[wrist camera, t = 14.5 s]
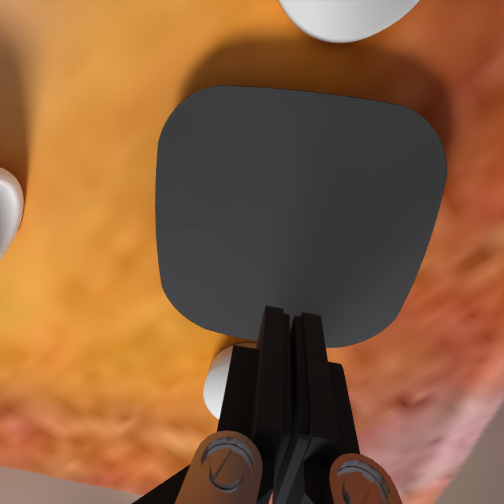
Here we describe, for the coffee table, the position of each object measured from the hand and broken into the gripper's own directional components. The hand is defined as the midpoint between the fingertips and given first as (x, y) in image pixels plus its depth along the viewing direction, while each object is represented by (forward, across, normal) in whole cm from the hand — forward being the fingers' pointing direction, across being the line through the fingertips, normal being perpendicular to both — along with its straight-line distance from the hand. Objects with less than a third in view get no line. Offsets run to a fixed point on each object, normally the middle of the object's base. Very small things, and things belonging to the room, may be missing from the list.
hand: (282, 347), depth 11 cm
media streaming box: (+12, 0, 0) cm, 12 cm away
